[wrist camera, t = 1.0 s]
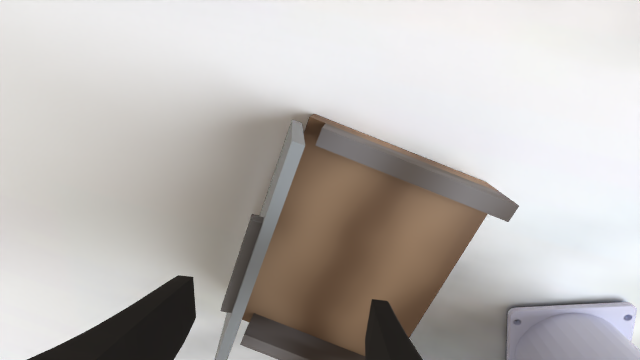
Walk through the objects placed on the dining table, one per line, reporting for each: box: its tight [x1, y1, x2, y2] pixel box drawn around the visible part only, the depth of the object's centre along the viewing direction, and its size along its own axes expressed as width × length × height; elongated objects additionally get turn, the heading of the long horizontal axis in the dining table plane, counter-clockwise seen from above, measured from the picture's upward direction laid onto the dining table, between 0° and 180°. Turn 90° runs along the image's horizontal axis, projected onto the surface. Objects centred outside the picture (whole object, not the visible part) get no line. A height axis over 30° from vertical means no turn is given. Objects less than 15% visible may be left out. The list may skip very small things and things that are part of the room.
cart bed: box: [240, 114, 519, 360], centre depth 20 cm, size 12×16×4 cm
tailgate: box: [215, 120, 305, 360], centre depth 17 cm, size 1×15×5 cm, turn 159°
